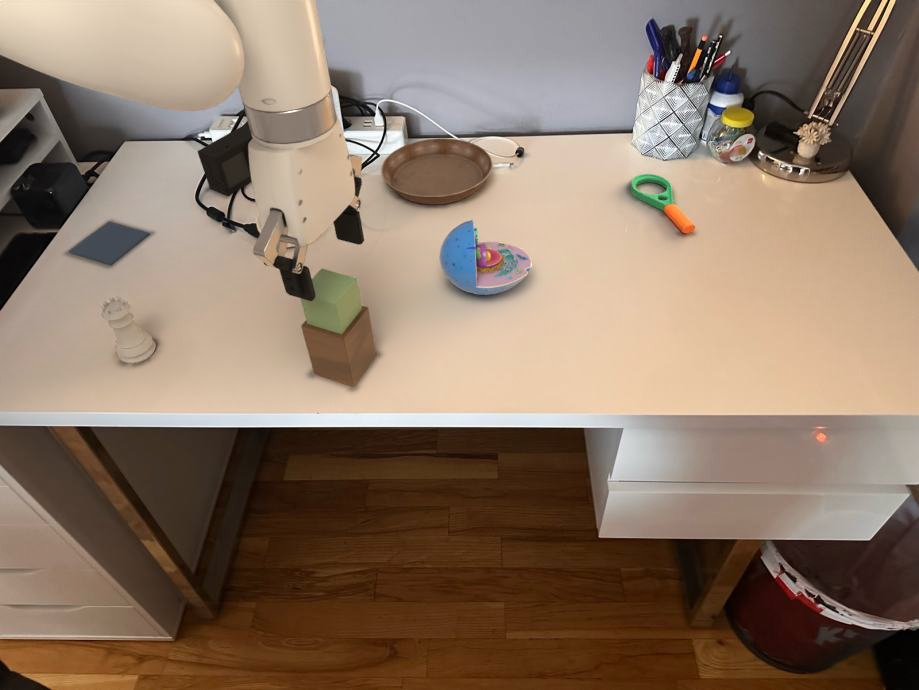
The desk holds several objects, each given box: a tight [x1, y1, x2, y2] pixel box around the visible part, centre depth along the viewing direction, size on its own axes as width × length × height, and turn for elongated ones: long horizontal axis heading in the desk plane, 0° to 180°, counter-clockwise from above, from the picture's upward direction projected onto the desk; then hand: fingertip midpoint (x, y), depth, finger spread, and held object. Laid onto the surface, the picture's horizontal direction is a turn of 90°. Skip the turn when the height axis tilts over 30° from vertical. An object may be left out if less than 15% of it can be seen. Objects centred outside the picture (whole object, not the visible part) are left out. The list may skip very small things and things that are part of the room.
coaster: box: [68, 221, 151, 266], centre depth 99 cm, size 8×8×1 cm
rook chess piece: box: [100, 296, 157, 365], centre depth 80 cm, size 4×4×8 cm
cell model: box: [439, 219, 533, 296], centre depth 87 cm, size 10×12×10 cm
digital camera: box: [197, 123, 253, 197], centre depth 108 cm, size 10×5×7 cm, turn 146°
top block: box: [300, 268, 363, 334], centre depth 73 cm, size 4×4×4 cm
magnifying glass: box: [630, 173, 696, 234], centre depth 101 cm, size 15×6×2 cm, turn 15°
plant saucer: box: [380, 137, 493, 205], centre depth 108 cm, size 18×18×3 cm
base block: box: [300, 305, 377, 388], centre depth 78 cm, size 6×6×8 cm
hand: (327, 267), depth 70 cm, fingers open, 9 cm apart
